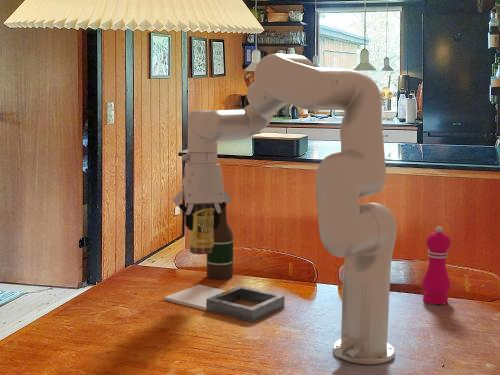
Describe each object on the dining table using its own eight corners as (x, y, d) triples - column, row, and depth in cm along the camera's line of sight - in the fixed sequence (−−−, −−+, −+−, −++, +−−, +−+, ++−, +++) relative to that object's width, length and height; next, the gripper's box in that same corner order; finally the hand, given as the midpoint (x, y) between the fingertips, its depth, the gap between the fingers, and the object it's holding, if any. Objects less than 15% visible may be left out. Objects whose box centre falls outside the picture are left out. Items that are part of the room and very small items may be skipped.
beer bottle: (222, 271, 198) (222, 192, 194) (238, 277, 192) (239, 196, 188) (201, 275, 193) (201, 195, 189) (217, 281, 187) (217, 198, 183)
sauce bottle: (197, 256, 165) (196, 178, 162) (185, 251, 170) (184, 176, 168) (219, 253, 169) (218, 176, 166) (206, 248, 174) (205, 174, 171)
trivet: (206, 310, 162) (206, 307, 162) (164, 299, 170) (164, 296, 170) (239, 296, 173) (239, 293, 173) (198, 287, 181) (198, 284, 181)
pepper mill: (415, 301, 171) (419, 226, 169) (430, 295, 176) (433, 222, 174) (440, 307, 166) (444, 230, 163) (454, 301, 171) (459, 226, 168)
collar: (252, 322, 154) (252, 308, 153) (206, 310, 162) (206, 297, 161) (284, 307, 165) (284, 294, 165) (239, 296, 173) (239, 284, 173)
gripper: (172, 161, 160) (172, 233, 163) (239, 159, 166) (238, 229, 168) (165, 158, 167) (166, 227, 169) (230, 156, 173) (229, 223, 175)
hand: (202, 227), depth 169 cm, fingers closed on sauce bottle, 6 cm apart
